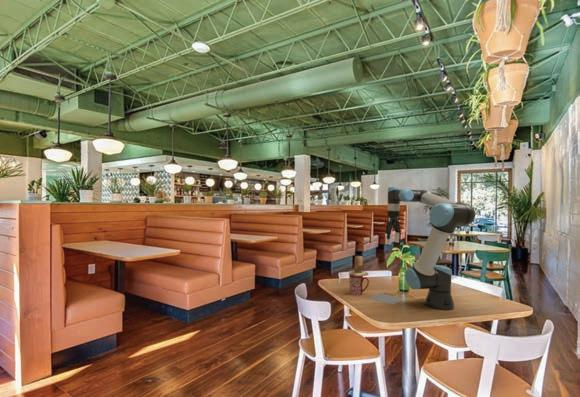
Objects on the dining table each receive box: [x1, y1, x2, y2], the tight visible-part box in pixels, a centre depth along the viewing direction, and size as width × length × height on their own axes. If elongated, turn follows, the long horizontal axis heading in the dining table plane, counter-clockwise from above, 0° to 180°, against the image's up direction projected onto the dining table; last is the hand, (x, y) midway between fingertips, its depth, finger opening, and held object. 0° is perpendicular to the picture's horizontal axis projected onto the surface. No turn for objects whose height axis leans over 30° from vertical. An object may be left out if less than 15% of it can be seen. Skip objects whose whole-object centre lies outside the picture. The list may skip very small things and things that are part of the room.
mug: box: [348, 273, 370, 297], centre depth 203 cm, size 13×9×14 cm
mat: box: [368, 292, 404, 305], centre depth 195 cm, size 16×16×1 cm
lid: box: [348, 255, 369, 277], centre depth 204 cm, size 12×12×11 cm
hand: (392, 243), depth 208 cm, fingers open, 13 cm apart
